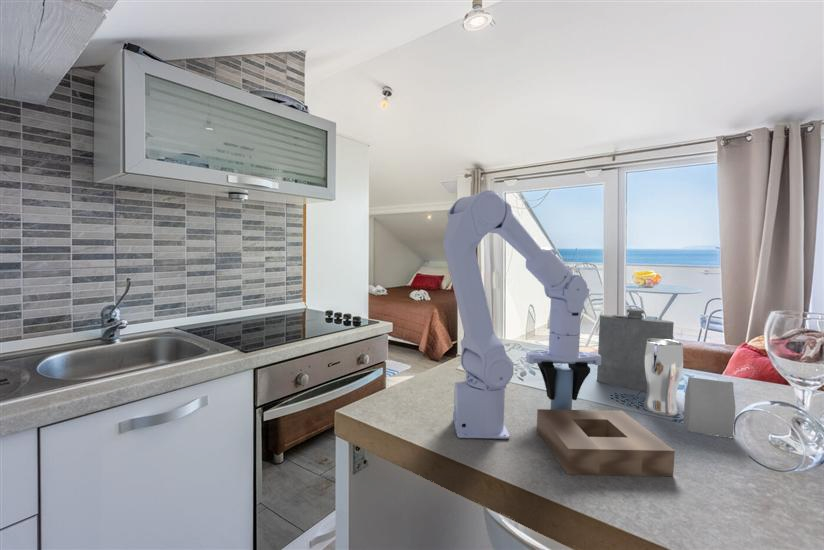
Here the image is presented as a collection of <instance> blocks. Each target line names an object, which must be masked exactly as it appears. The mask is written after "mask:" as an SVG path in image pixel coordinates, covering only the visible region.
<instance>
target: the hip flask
mask: <svg viewBox="0 0 824 550" xmlns="http://www.w3.org/2000/svg"><path fill="white" fill-rule="evenodd" d="M626 312H627V313H628V314H627V315H625V314H624V315H621V314H612V315H611V314H600V315H599V327H598V345H597V346H598V347H597V348H598V350H597V352H598V353H597V354H598V355H600V356H601V365H597V366H596V367H597V368H596V369H597V373H596V376H597V377H596V381H597V382H600V383H601V384H607V385H611V386H615V387H620V388H625V389H628V390H630V389H631V390H635V391H640V392H645V393H647V386H646V379H645V372H644V352H645V345H646V339H650V338H658V339H667V340H673V341H674V339H673V338H674V323H675V322H674V321H670V320H665V319H664V320H663V319H650V318H643V315H644V312H645V311H644V309H640V308H626Z"/></svg>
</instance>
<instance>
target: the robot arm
mask: <svg viewBox="0 0 824 550" xmlns="http://www.w3.org/2000/svg"><path fill="white" fill-rule="evenodd" d="M446 216H447V219H448V222H447V224H446V228H445V229H446V230H445V233H444V237H443V238H444V239H443V243H442V244H443V245H442V246H443V251H444V255H445V259H446V263H447V267H448V273H449V275H450V276H449V277H450V280H451V284H452V289H453V291H454V292H453V293H454V296H455V301H456V304H457V309H458V313H459V317H460V321H461V325H462V329H463V333H464V334H463V335H464V337H463V338H462V339H461V341H460V345H461V346H460V347H461V354H460V364H461V368H462V369H463V370H464V371H465V380H463V381H457V382H454V389H453V390H454V391H453V411H452V420H453V423H454V428H455V433H456V435H457V438H460V439H510V438H511V435H510V433H509V430H508V428H507V427H506V425H505V394H506V393H505V392H506V389H507V385H508V384H509V383H510V382H511V380H512V378H513V375H514V369H515V368H514V363H513V362H512V361H513V360H512V359H511V358H510V357H509V355H507V353H506V350H505V346H504V344H503V343H502V341H501V339H500V338H499V337H498V336H497V334H496V333H495V331H494V325H493V322H492V318H491V313H490V309H489V305H488V300H487V295H486V291H485V286H484V281H483V278H482V275H481V270H480V264H479V261H478V257H477V252H476V251H477V250H476V249H477V247H478V246H479V244H481V242H482V240H483V238H484V237H486V236H487V235H488V234H489V233H491V234H497V235H499V236H500V237H501V238H502V239H503V240H504V241H505V242H507V244H509V245H510V246H511V247H512V248H513V249H514V250H515V251H516V252H517V253H519V254H520V255H521V256H522V257H523V258H524V259H525V268H526V270H527V271H529V273H531V275H532V276H533V277H534V278H535V279H537V281H538V282H539V283H540V284H541V285H542V286H543V289H544V293H545V296H546V297H547V298H549V299H550V306H549V307H550V308H549V311H550V312H549V313H550V315H549V332H548V334H549V335H548V337H549V338H548V350H543V351H541V350H540V351H526V355H525V359H526V362H527V364H528V365H529V364H530V365H534V364H537V366H538V368H539V371H540V373H541V377H542V379H543V382H544V385H545V391H546V397H547V398H548V399H549V400H550V401H551V400H554V396H555V379H556V374H557V369H555V368H554V366H555V365H554V364H559V365H560V364H561V365H562V364H565V365H566V364H567V365H568V366H567V367H568V368H571V369H573V393H572V401H577V399H578V395H579V394H580V390H581V388H582V385H583V383H584V382H585V380H586V379H587V378H588V376H589V374H590V373H591V367H590V366H589V365H595V366H598V365H601V356H600V355H598V353H595V352H594V353H593V352H592V353H591V352H580V340H581V339H580V338H581V337H580V336H581V335H580V334H581V320H582V319H581V316H582V314H581V313H583V310H584V307H585V302H586V300H587V298H588V297H589V294H590V288H588V284H587V282H586V280H585V279H584V277H582V276H581V275H578V274H573V272H572V271H571V270H572V269H571V268H570V266H569V265H566V264H565V263H564V262H563V261H562V260H561V259H560V258H559V257H558V256H557V254H558V252H557V251H556V250H555V249H554V248H552V249H551V248H549V247H545V246H542V247H540V245H539V244H538V243H537V242H536V240H535V239H534V238H533V236H531V234H530V233H529V232H528V231H527V229H526V228H525V227H524V226H523V224H521V222H520V221H519V219H517V217H516V216H515V214H514V213H513V210H512V206H511V204H510V203H508V202H507V201H506V200H504V198H503V197H502V195H501V194H499V192H497V191H494V190H492V189H490V190H489V189H486V190H483V191H481V192H479V193H475V194H471V195H469V196H462V197H460V198H458V199H457V200H456V201H455V202H454V203H453V205H452V206H451V207H450V208H449V209H448V212H447V214H446Z"/></svg>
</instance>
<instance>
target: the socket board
mask: <svg viewBox="0 0 824 550" xmlns="http://www.w3.org/2000/svg"><path fill="white" fill-rule="evenodd" d="M536 413H537V414H536V416H537V417H536V431H537V433H538V434H539V435H540V437H541V439H543V441H544V443H545V444H546V445H547V447H548V448H549V450H550V452H551V453H552V454H553V455H554V457H555V459H556V460H557V461H558V463H559V464H560V466H561V467H562V469H563V470H564V472H565V474H566V475H584V476H585V475H586V476H589V475H590V476H591V475H593V476H632V477H633V476H634V477H636V476H637V477H640V476H641V477H645V476H646V477H674V471H675V469H674V468H675V456H676V455H675V453H676V451H675V449H673V448H672V447H670V446H669V445H668V444H666V443H665V442H664V441H663V440H661V439H660V438H658V437H657V436H656V435H655V434H653V433H652V432H651V431H650V430H648V429H647V428H646V427H644V426H643V425H641V423H639V422H638V421H636V420H635V419H634V418H633V417H631V416H630V415H629V414H627V413H626V412H625V411H624V410H602V409H601V410H600V409H599V410H598V409H595V410H593V409H572V410H551V408H550V409H549V408H547V409H537V412H536Z"/></svg>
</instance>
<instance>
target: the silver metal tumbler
mask: <svg viewBox="0 0 824 550" xmlns="http://www.w3.org/2000/svg"><path fill="white" fill-rule="evenodd" d="M683 368H684V344H683V343H682V342H679V341H676V340H674V339H673V340H667V339H658V338H650V339H646V345H645V352H644V372H645V379H646V386H647V392H645V393H646V395H645V400H644V402H643V408H644V409H645V411H648V412H650V413H653V414H656V415H659V416H664V417H675V416H677V415H678V406H677V393H678V389H679V385H680V382H681V379H682V374H683V370H684V369H683Z"/></svg>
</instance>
